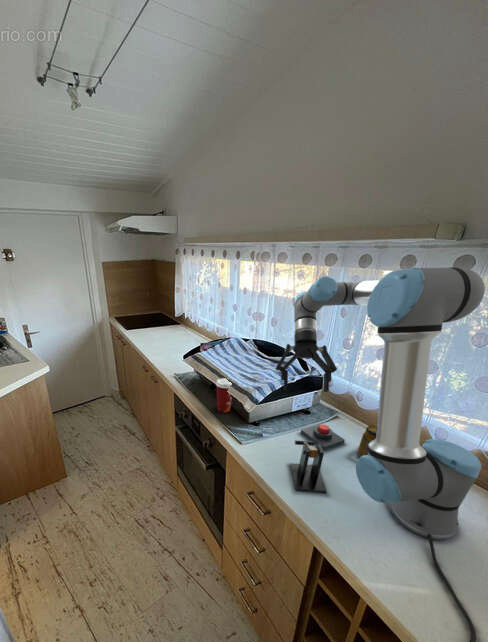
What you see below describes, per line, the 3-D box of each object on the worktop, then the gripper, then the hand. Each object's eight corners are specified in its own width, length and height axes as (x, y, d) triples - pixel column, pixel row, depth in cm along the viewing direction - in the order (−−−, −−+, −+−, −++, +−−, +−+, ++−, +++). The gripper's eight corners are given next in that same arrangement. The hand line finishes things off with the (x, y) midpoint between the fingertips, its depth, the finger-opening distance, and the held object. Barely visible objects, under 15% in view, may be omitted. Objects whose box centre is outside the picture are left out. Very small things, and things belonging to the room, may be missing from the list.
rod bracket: (289, 466, 104) (294, 435, 98) (316, 468, 103) (324, 437, 97) (295, 492, 93) (302, 459, 87) (325, 494, 92) (335, 461, 86)
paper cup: (233, 413, 134) (234, 385, 127) (215, 413, 134) (216, 385, 128) (231, 405, 141) (232, 377, 134) (214, 405, 141) (215, 377, 134)
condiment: (381, 459, 106) (391, 431, 100) (367, 468, 102) (377, 439, 96) (360, 448, 111) (369, 421, 106) (347, 457, 107) (355, 429, 102)
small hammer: (294, 445, 104) (295, 438, 103) (312, 446, 103) (313, 439, 103) (303, 457, 92) (303, 449, 92) (323, 458, 91) (324, 450, 91)
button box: (343, 444, 114) (346, 435, 112) (323, 451, 110) (325, 442, 108) (319, 428, 123) (321, 419, 122) (300, 434, 120) (301, 425, 118)
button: (330, 432, 114) (331, 428, 113) (323, 435, 113) (324, 430, 112) (323, 427, 117) (324, 423, 116) (316, 430, 116) (317, 425, 115)
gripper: (337, 339, 113) (339, 394, 108) (268, 337, 115) (267, 391, 110) (345, 330, 105) (348, 388, 100) (271, 327, 108) (270, 385, 103)
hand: (305, 390), depth 105 cm, fingers open, 13 cm apart
